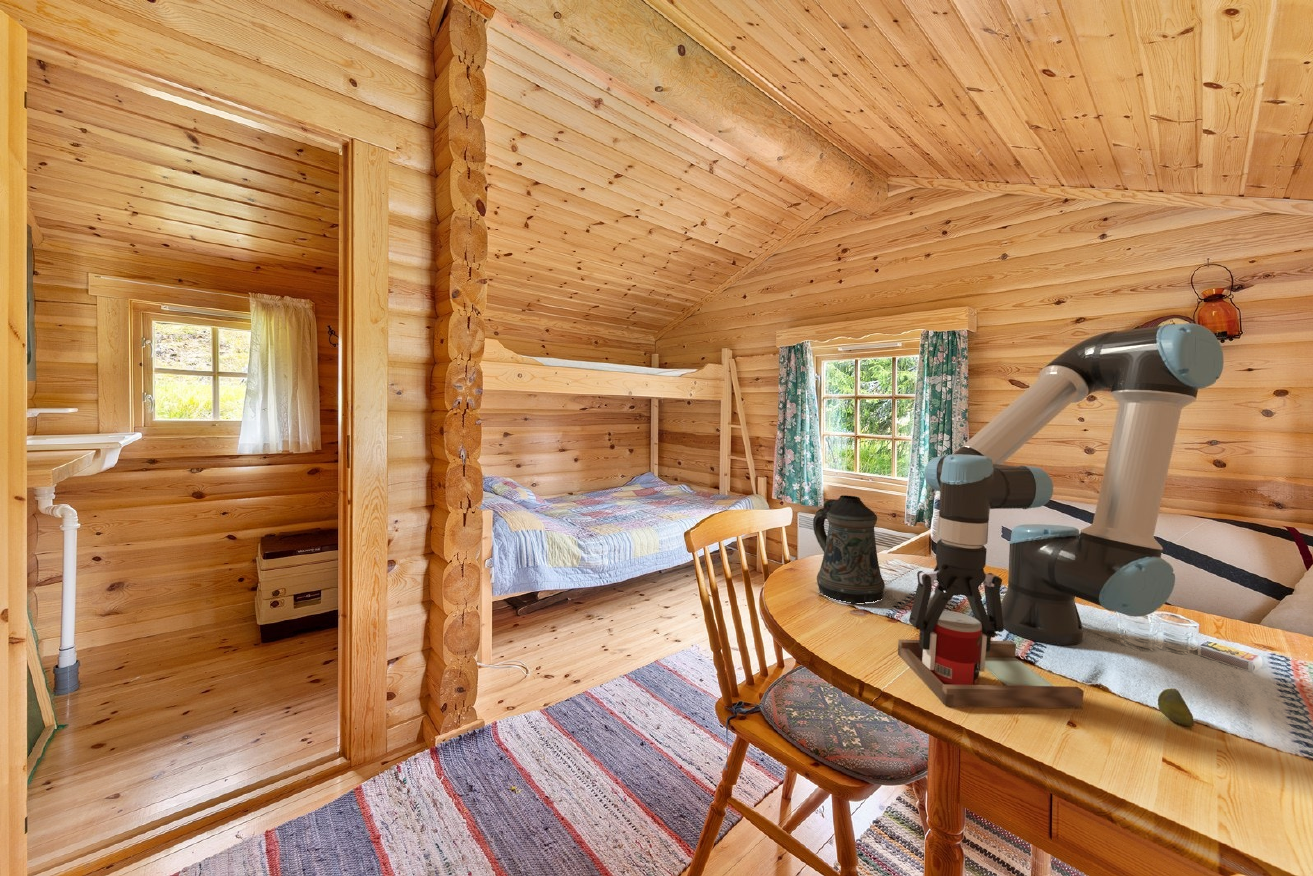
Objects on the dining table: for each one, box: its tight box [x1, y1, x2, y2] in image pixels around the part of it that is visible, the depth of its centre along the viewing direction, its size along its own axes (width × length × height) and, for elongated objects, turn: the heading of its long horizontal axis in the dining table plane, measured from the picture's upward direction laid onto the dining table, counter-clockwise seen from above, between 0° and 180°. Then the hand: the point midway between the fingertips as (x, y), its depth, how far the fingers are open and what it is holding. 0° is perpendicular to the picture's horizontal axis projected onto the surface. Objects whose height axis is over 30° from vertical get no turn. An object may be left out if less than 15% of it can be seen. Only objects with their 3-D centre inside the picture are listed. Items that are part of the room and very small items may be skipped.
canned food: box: [926, 610, 982, 685], centre depth 90 cm, size 8×8×11 cm
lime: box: [1157, 688, 1195, 727], centre depth 79 cm, size 4×5×5 cm
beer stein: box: [812, 494, 886, 603], centre depth 131 cm, size 16×19×25 cm
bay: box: [897, 638, 1085, 710], centre depth 90 cm, size 22×17×3 cm
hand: (952, 666), depth 90 cm, fingers closed on canned food, 8 cm apart
